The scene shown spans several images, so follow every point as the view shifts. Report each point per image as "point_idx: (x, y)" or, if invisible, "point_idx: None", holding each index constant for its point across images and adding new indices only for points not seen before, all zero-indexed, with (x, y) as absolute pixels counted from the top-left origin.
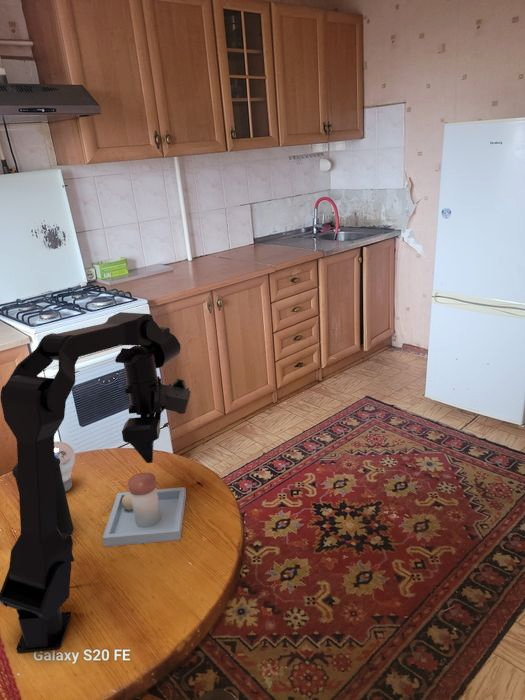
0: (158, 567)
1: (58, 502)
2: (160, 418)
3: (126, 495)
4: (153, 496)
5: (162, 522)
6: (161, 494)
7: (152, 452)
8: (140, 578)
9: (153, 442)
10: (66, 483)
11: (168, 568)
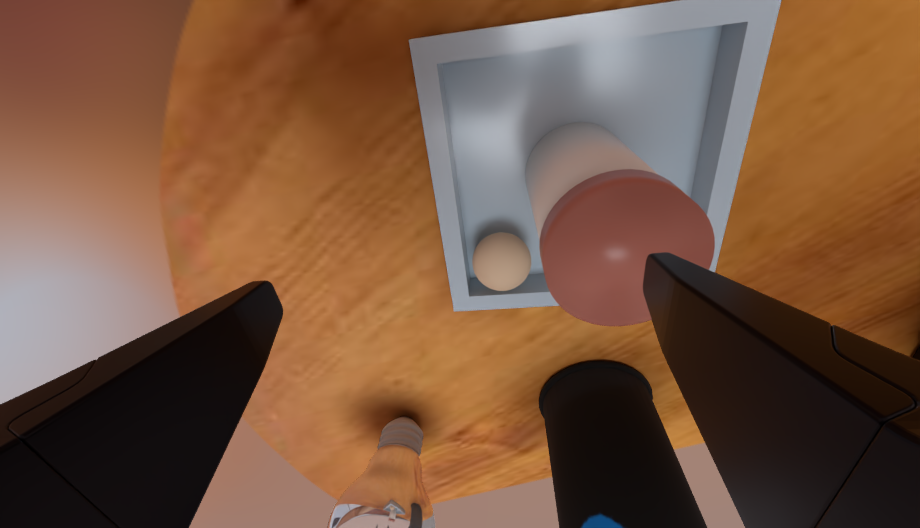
0: (874, 59)
1: (675, 494)
2: (55, 383)
3: (503, 284)
4: (648, 167)
5: (608, 107)
6: (450, 152)
7: (784, 304)
8: (903, 118)
9: (842, 380)
10: (411, 442)
11: (904, 9)
